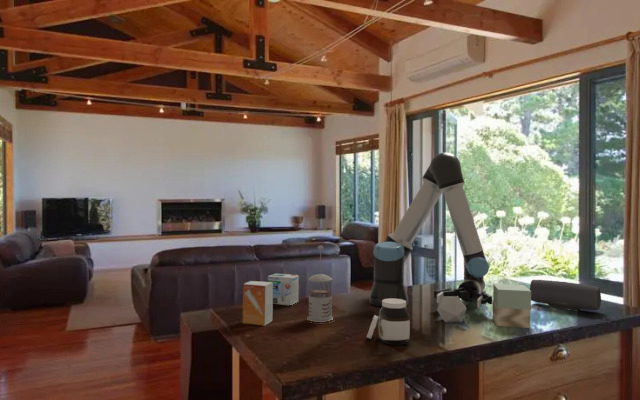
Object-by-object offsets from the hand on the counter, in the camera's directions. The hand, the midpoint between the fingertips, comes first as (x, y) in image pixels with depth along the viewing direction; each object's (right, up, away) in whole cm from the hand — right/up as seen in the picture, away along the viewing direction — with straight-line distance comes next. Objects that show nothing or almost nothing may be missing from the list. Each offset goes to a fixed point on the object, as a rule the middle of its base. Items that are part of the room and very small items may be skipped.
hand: (457, 301), depth 157 cm
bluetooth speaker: (+45, -6, +16) cm, 48 cm away
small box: (-68, -6, -7) cm, 68 cm away
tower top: (+16, 0, -5) cm, 17 cm away
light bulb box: (-62, -5, +22) cm, 66 cm away
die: (-3, -6, -3) cm, 8 cm away
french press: (-47, -6, -2) cm, 47 cm away
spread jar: (-28, -6, -25) cm, 38 cm away
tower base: (+16, -6, -5) cm, 18 cm away
